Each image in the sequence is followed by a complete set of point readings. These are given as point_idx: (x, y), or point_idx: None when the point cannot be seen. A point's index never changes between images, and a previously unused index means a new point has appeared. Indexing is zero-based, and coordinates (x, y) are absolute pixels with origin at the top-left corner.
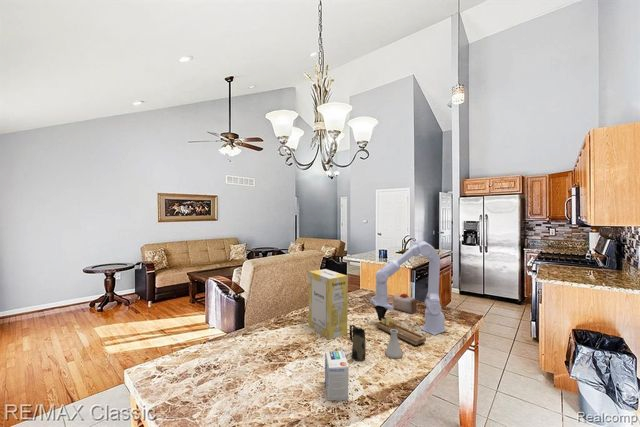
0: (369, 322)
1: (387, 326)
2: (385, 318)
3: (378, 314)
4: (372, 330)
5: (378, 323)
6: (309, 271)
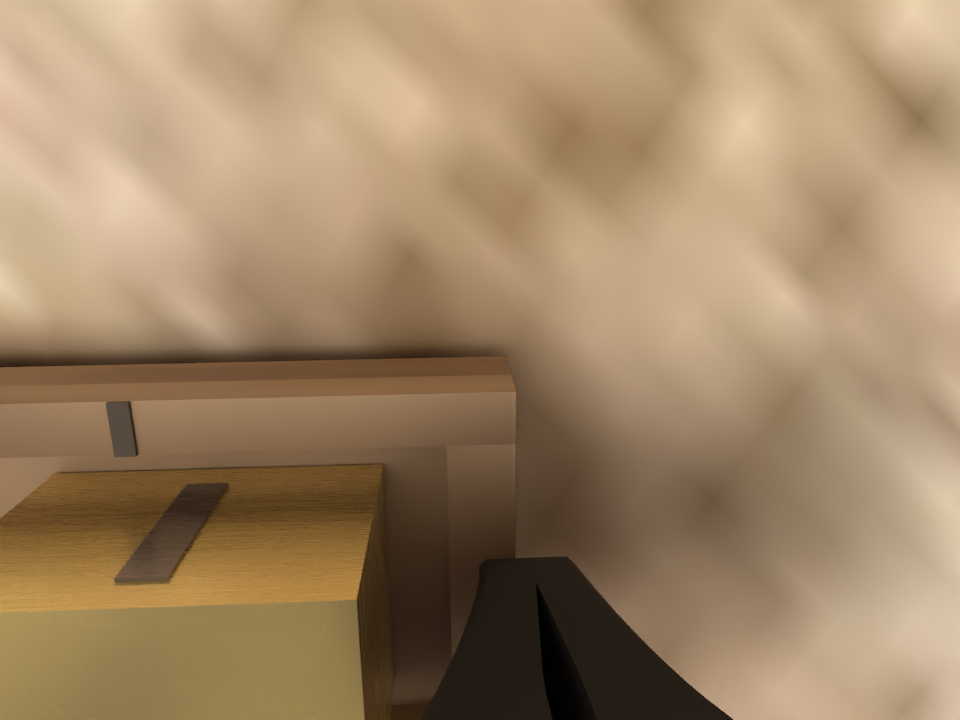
0: (889, 447)
1: (95, 493)
2: (229, 703)
3: (596, 684)
4: (455, 142)
5: (430, 407)
6: None
